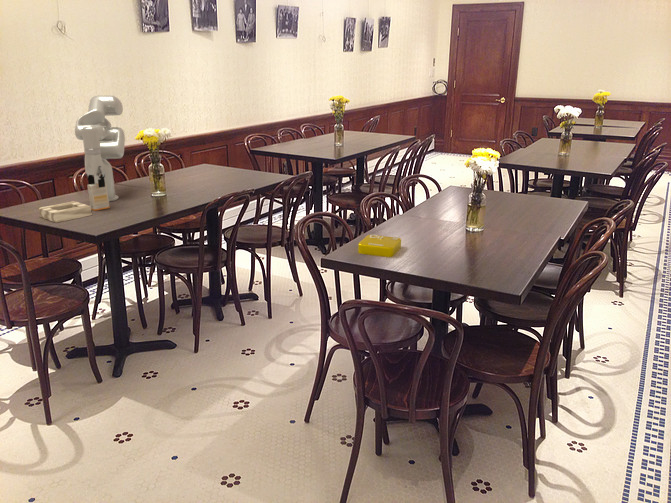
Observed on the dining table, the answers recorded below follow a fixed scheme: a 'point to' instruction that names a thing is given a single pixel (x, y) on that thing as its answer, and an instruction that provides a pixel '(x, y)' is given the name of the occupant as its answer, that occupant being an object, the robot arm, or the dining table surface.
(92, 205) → the supplement box
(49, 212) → the well
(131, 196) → the dining table surface
